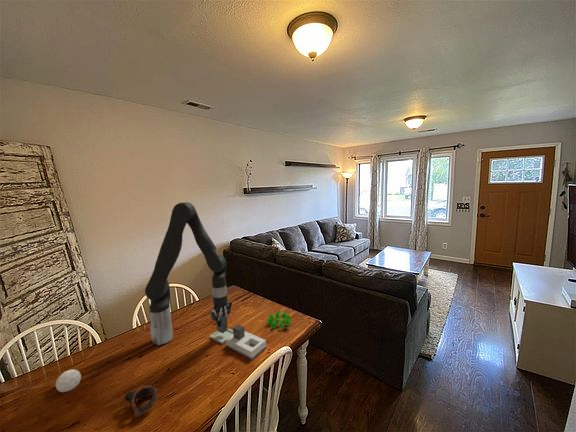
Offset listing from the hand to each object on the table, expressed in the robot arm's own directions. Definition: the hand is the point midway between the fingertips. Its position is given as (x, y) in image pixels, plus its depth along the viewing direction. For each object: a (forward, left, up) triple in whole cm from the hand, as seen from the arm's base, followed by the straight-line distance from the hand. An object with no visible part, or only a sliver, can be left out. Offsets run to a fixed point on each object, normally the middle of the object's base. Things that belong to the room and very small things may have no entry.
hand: (221, 324), depth 131 cm
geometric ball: (-58, +25, -7) cm, 63 cm away
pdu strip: (0, -17, -7) cm, 18 cm away
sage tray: (0, 0, -7) cm, 7 cm away
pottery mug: (-44, -7, -8) cm, 45 cm away
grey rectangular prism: (0, 0, -3) cm, 3 cm away
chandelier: (+26, -18, -7) cm, 33 cm away
